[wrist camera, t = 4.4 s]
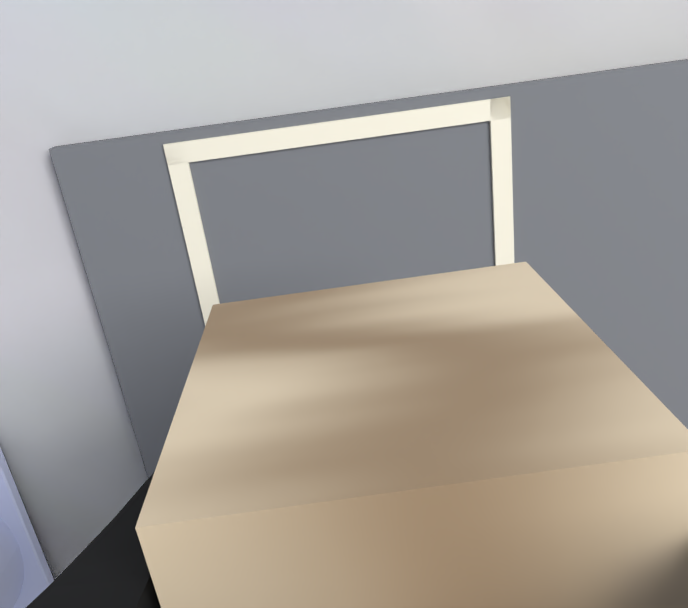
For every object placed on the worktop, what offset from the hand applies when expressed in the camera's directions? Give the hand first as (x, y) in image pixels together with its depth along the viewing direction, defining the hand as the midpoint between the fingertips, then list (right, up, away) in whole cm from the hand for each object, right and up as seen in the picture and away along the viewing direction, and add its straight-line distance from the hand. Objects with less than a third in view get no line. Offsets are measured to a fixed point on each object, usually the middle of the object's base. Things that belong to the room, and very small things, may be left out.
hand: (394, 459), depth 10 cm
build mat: (+3, -1, +10) cm, 10 cm away
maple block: (0, 0, +1) cm, 1 cm away
